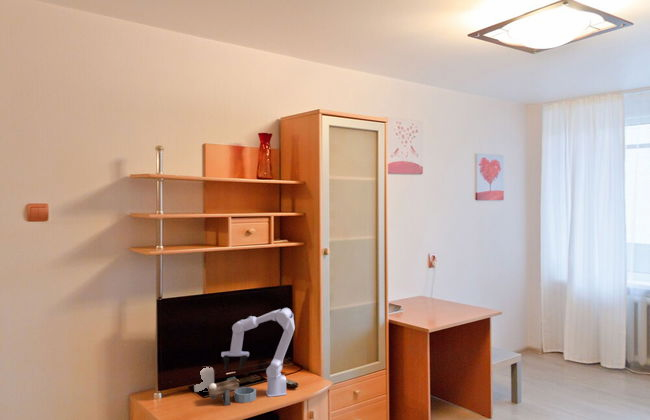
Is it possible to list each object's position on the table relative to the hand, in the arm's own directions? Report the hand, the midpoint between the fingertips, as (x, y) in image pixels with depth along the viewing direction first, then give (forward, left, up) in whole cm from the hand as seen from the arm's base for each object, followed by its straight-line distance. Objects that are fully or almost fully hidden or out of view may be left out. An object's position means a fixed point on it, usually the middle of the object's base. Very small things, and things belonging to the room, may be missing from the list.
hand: (233, 369), depth 266 cm
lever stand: (+5, +13, -11) cm, 18 cm away
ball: (+12, +13, -3) cm, 18 cm away
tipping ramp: (+6, +10, -7) cm, 13 cm away
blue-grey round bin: (-4, +13, -11) cm, 18 cm away
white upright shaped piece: (+14, -5, -11) cm, 19 cm away
